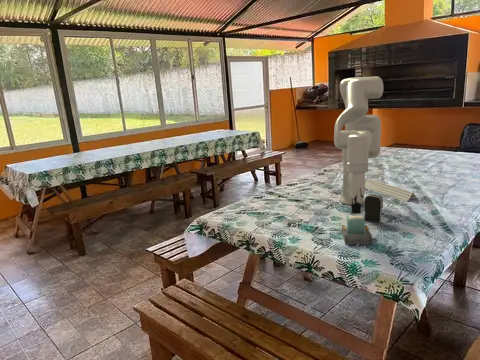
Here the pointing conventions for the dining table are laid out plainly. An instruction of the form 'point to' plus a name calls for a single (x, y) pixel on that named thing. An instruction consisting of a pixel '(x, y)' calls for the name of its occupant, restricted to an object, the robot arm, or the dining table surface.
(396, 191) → the corner bead
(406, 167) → the dining table surface
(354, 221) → the block
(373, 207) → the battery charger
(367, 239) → the tray
